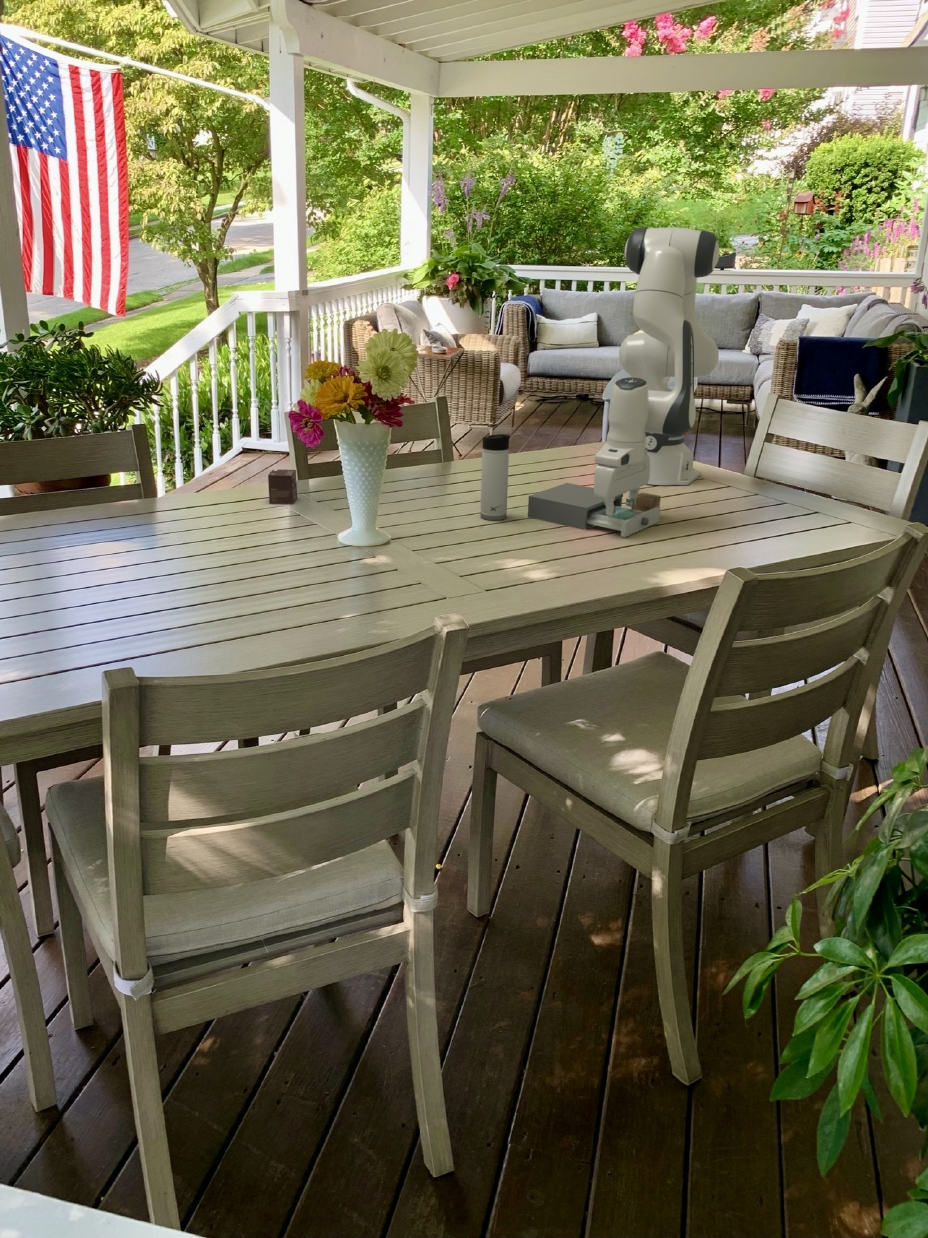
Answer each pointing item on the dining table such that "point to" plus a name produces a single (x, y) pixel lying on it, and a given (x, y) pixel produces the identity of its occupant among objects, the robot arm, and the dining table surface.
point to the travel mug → (494, 477)
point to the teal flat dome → (622, 513)
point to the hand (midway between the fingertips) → (620, 510)
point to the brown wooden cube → (646, 502)
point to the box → (282, 486)
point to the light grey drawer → (625, 526)
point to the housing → (566, 505)
